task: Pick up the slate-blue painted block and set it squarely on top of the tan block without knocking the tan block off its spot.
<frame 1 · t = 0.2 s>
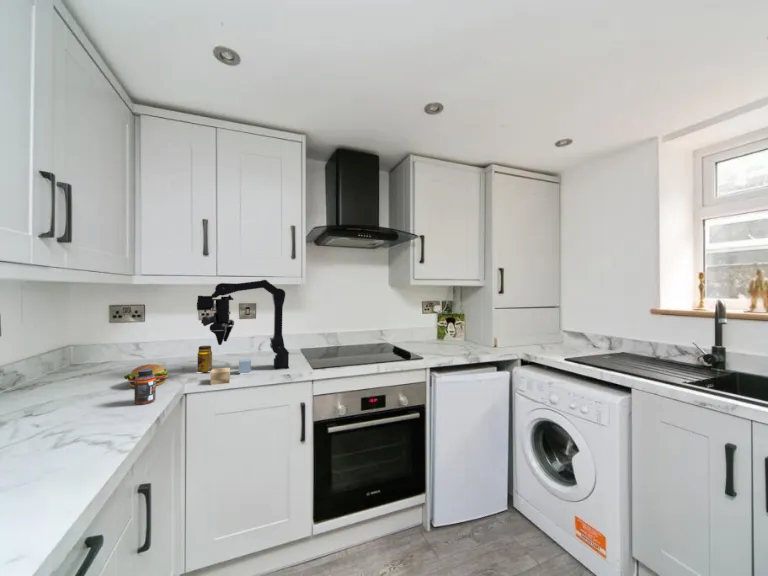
hand: (222, 343, 149), 14 cm above the worktop, fingers open, 9 cm apart
condiment: (206, 371, 153), on the worktop
blue block: (244, 373, 150), on the worktop
supplement bottle: (145, 402, 112), on the worktop
tan block: (220, 382, 136), on the worktop
food: (147, 384, 132), on the worktop
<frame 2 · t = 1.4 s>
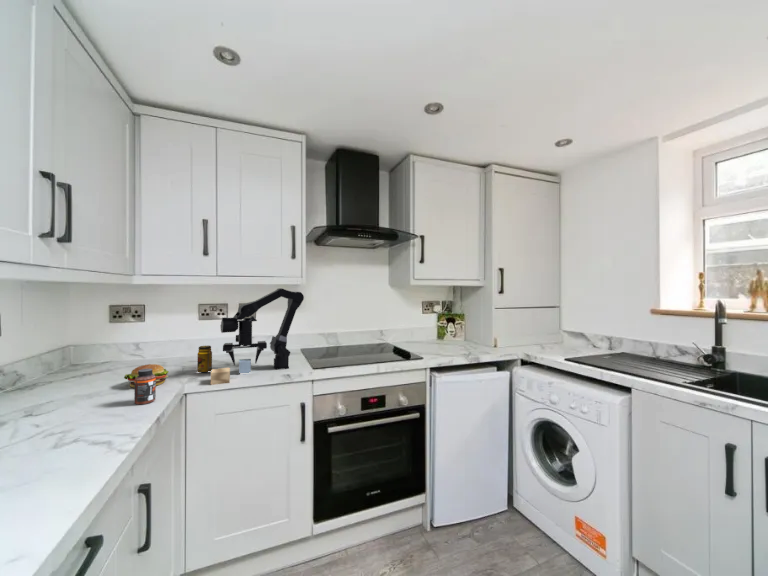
hand: (245, 364, 150), 4 cm above the worktop, fingers open, 9 cm apart
nothing on the worktop moved.
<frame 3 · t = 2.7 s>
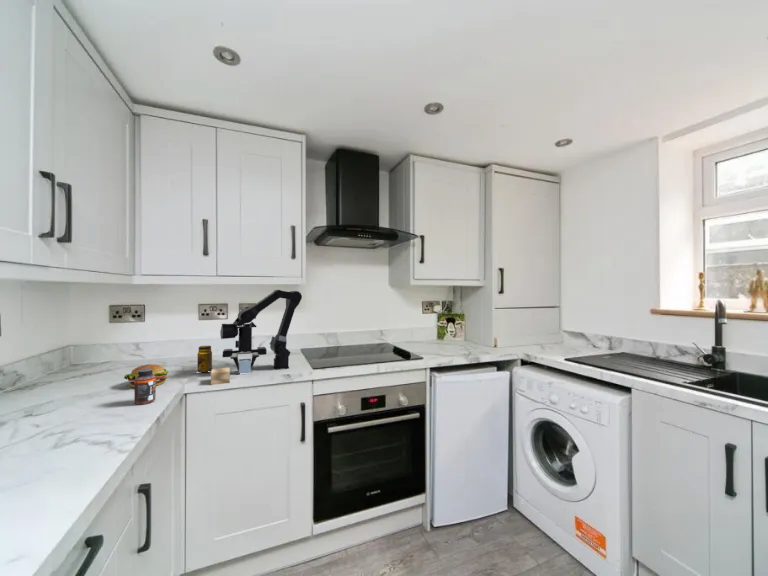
hand: (244, 370, 150), 1 cm above the worktop, fingers closed on blue block, 5 cm apart
blue block: (244, 372, 150), on the worktop, touching gripper
everything else where it was.
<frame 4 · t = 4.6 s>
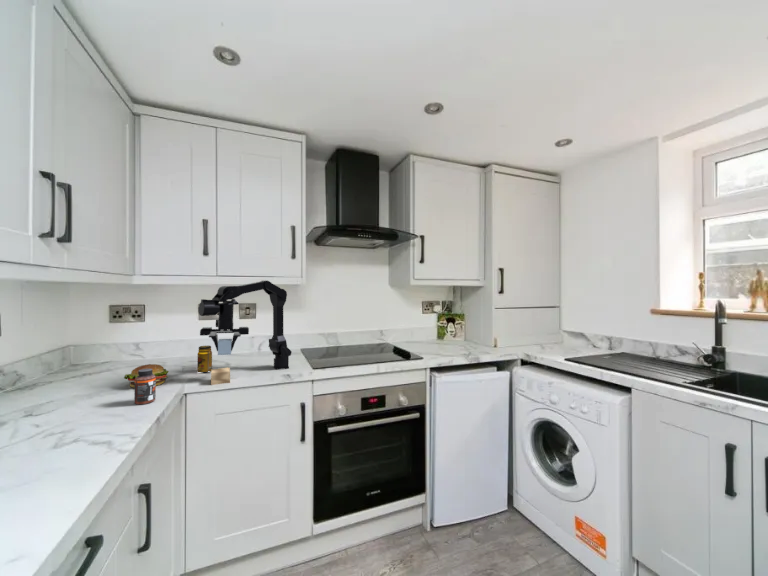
hand: (224, 350, 139), 13 cm above the worktop, fingers closed on blue block, 5 cm apart
blue block: (224, 353, 139), point 11 cm above the worktop, touching gripper
everything else where it was.
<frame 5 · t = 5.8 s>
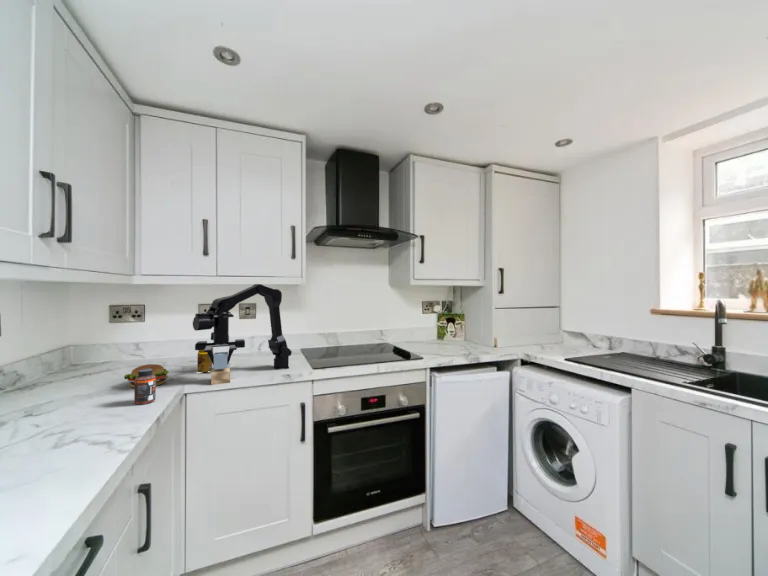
hand: (220, 364, 136), 7 cm above the worktop, fingers closed on blue block, 5 cm apart
blue block: (220, 367, 136), point 6 cm above the worktop, touching gripper
everything else where it was.
when the fingers open (7 cm above the worktop, at t = 6.5 s): blue block drops 1 cm, resting on tan block.
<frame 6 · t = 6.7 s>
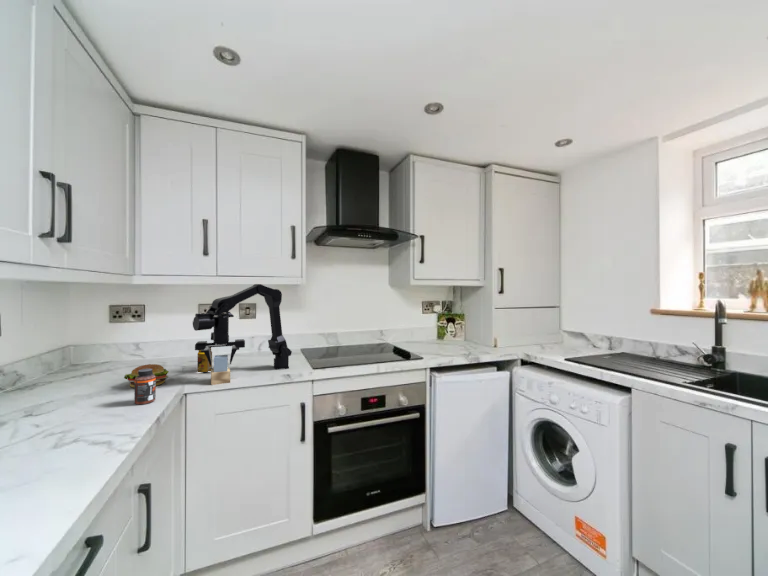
hand: (220, 364, 136), 7 cm above the worktop, fingers open, 7 cm apart
blue block: (220, 370, 136), point 5 cm above the worktop, touching tan block
tan block: (220, 382, 136), on the worktop, touching blue block
everything else where it was.
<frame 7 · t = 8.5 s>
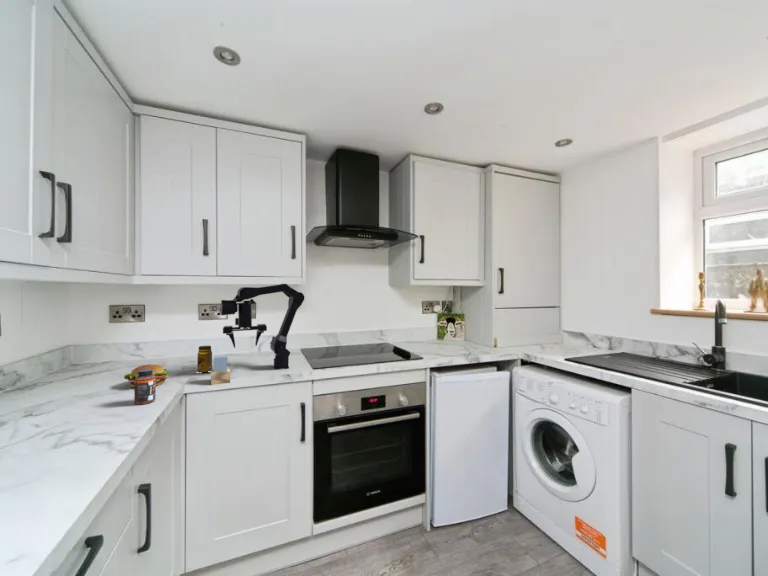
hand: (245, 346, 151), 12 cm above the worktop, fingers open, 9 cm apart
nothing on the worktop moved.
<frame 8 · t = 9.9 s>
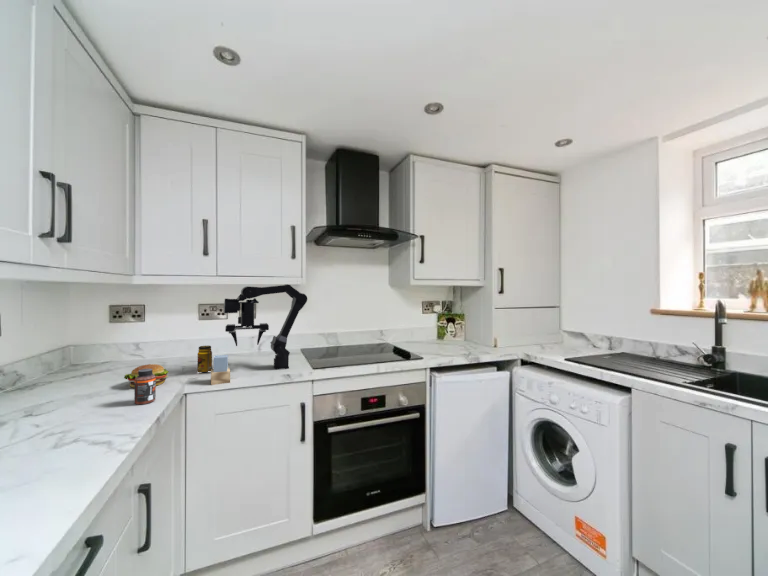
hand: (247, 345, 152), 13 cm above the worktop, fingers open, 9 cm apart
blue block: (220, 370, 136), point 5 cm above the worktop
tan block: (220, 382, 136), on the worktop
everything else where it was.
at the end: blue block 0.1 cm off-centre on the tan block, point 5.0 cm above the tan block's base; blue block tilted 0°; tan block moved 0.2 cm from its start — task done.
